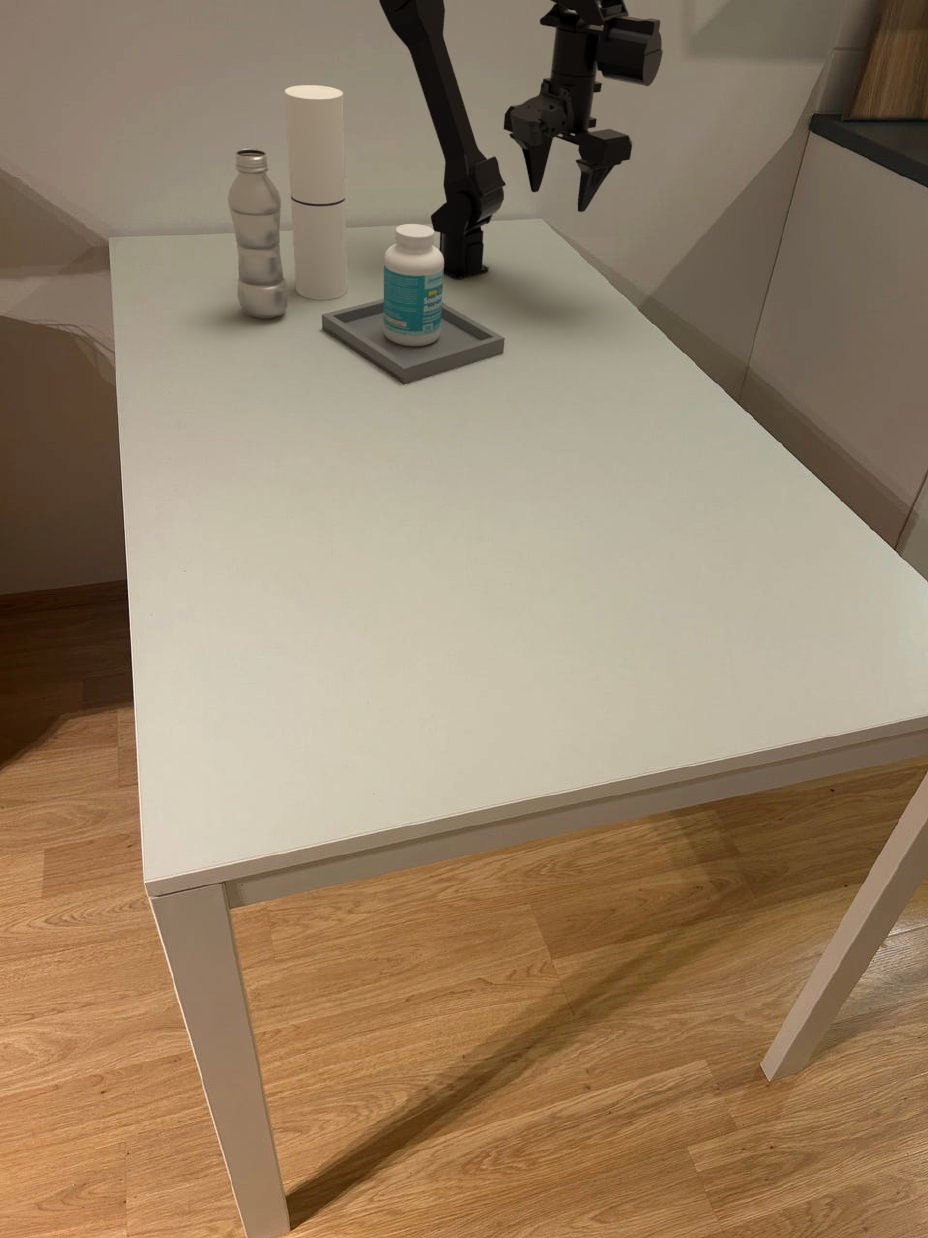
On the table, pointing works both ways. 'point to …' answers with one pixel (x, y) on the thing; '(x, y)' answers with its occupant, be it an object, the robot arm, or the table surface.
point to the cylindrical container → (317, 189)
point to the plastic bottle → (257, 236)
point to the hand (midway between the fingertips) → (557, 201)
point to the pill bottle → (413, 287)
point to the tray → (411, 363)
